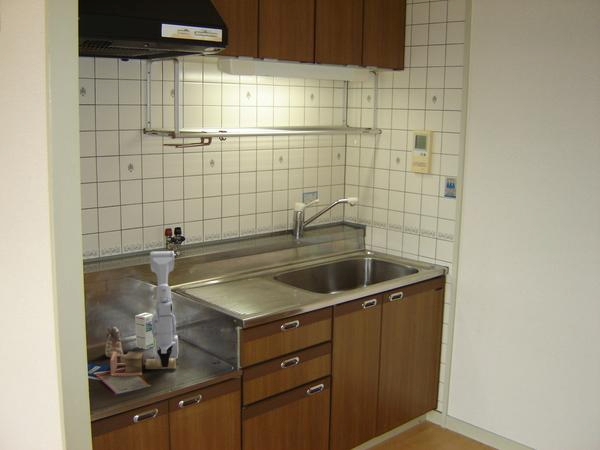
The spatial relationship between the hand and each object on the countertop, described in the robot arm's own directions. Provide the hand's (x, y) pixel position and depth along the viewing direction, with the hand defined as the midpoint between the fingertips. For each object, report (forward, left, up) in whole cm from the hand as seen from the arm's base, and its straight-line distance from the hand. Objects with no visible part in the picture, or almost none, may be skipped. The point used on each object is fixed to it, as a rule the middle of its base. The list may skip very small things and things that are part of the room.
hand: (165, 365), depth 279 cm
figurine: (+22, -19, -2) cm, 30 cm away
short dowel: (+14, -8, -2) cm, 17 cm away
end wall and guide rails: (+14, 0, -2) cm, 14 cm away
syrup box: (+10, -28, -2) cm, 30 cm away
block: (+12, 0, -2) cm, 12 cm away
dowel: (+2, 0, -1) cm, 2 cm away
